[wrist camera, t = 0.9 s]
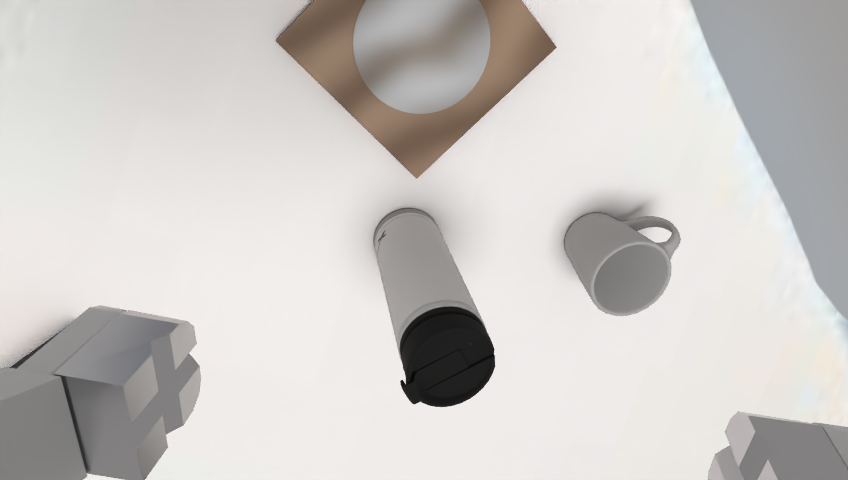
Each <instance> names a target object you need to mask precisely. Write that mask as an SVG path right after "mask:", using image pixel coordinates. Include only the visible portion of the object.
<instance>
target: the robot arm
mask: <svg viewBox="0 0 848 480" xmlns="http://www.w3.org/2000/svg"><path fill="white" fill-rule="evenodd" d="M196 344H197V342H196V336H195V331H194V326H193V325H192V324H190V323H189V322H188V321H184V320H178V319H173V318H168V317H162V316H157V315H152V314H146V313H141V312H136V311H130V310H129V311H126V310H122V309H117V308H111V307H106V306H100V305H99V306H95V307H90V308H88V309H87V310H86V311H85V312H84V313H82V314H81V315H80V316H79V317H78V318H77V319H75V320H74V321H73V322H72V323H71V324H69V325H68V326H67V327H66V328H65V329H63V330H62V331H61V332H60V333H59V334H57V335H56V336H55V337H54V338H53V339H51V340H50V341H49V342H48V343H47V344H46V345H44V346H43V347H42V348H41V349H40V350H38V351H37V352H36V353H35V354H34V355H32V356H31V357H30V358H29V359H28V360H26V361H25V362H24V363H23V364H22V365H20V366H19V367H18V368H17V369H15V368H9V367H6V368H3V369H0V480H83V479H84V478H86V477H87V473H88V474H94V475H100V476H107V477H113V478H119V479H125V480H145V479H146V477H147V476H148V474H149V473H150V472H151V470H152V469H153V467H154V466H155V465H156V463H157V462H158V460H159V459H160V458H161V456H162V455H163V453H164V452H165V451H166V449H167V448H168V445H167V438H166V434H168V433H170V432H171V431H173V430H175V429H177V428H179V427H181V426H183V425H184V423H185V422H186V420H187V419H188V417H189V416H190V414H191V413H192V411H193V409H194V406H195V404H196V401H197V398H198V395H199V392H200V382H201V375H200V366H199V365H198V364H197V362H196V361H195V360H194V359H193V358H192V356H191V355H190V354H189V352H190V351H191V350H192V349H193V347H194V346H195V345H196ZM725 433H726V436H727V439H728V441H729V444H730V446H728V447H726V448H725V449H723V450H721V451H720V452H718V453H716V454H715V456H714V458H713V461H712V464H711V466H710V469H709V473H708V480H848V427H842V426H835V425H828V424H821V423H808V422H802V421H795V420H789V419H783V418H776V417H770V416H764V415H757V414H751V413H745V412H737V413H736V414H735V415H734V416H733V417H732V418H731V419H730V421H729V423H728V426H727V428H726V430H725Z"/></svg>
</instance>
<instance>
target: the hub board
mask: <svg viewBox="0 0 848 480" xmlns="http://www.w3.org/2000/svg"><path fill="white" fill-rule="evenodd" d="M276 42H277V43H278V44H279V45H280V46H281V47H282V48H283V49H284V50H285V51H287V52H288V53H289V54H290V55H291V56H292V57H293V58H294V59H295V60H296V61H297V62H298V63H299V64H300V65H301V66H302V67H303V68H304V69H305V70H306V71H307V72H308V73H309V74H310V75H311V76H312V77H313V78H314V79H315V80H316V81H317V82H318V83H319V84H320V85H321V86H322V87H323V88H324V89H325V90H326V91H327V92H328V93H330V94H331V95H332V96H333V97H334V98H335V99H336V100H337V101H338V102H339V103H340V104H341V105H342V106H343V107H344V108H345V109H346V110H347V111H348V112H349V113H350V114H351V115H352V116H353V117H354V118H355V119H356V120H357V121H358V122H359V123H360V124H361V125H362V126H363V127H364V128H365V129H366V130H367V131H368V132H369V133H370V134H371V135H373V136H374V137H375V138H376V139H377V140H378V141H379V142H380V143H381V144H382V145H383V146H384V147H385V148H386V149H387V150H388V151H389V152H390V153H391V154H392V155H393V156H394V157H395V158H396V159H397V160H398V161H399V162H400V163H401V164H402V165H403V166H404V167H405V168H406V169H407V170H408V171H409V172H410V173H411V174H412V175H413V176H414V177H416V178H418V177H419V176H420V175H421V174H422V173H423V172H424V171H425V170H427V169H428V168H429V167H430V166H431V165H432V164H433V163H434V162H435V161H436V160H437V159H438V158H439V157H440V156H441V155H442V154H444V153H445V152H446V151H447V150H448V149H449V148H450V147H451V146H452V145H453V144H454V143H455V142H456V141H457V140H458V139H460V138H461V137H462V136H463V135H464V134H465V133H466V132H467V131H468V130H469V129H470V128H471V127H472V126H473V125H474V124H476V123H477V122H478V121H479V120H480V119H481V118H482V117H483V116H484V115H485V114H486V113H487V112H488V111H489V110H490V109H491V108H493V107H494V106H495V105H496V104H497V103H498V102H499V101H500V100H501V99H502V98H503V97H504V96H505V95H506V94H507V93H509V92H510V91H511V90H512V89H513V88H514V87H515V86H516V85H517V84H518V83H519V82H520V81H521V80H522V79H523V78H524V77H526V76H527V75H528V74H529V73H530V72H531V71H532V70H533V69H534V68H535V67H536V66H537V65H538V64H539V63H540V62H542V61H543V60H544V59H545V58H546V57H547V56H548V55H549V54H550V53H551V52H552V51H553V50H554V49H555V48H556V46H555V45H554V43H553V42H552V41H551V39H550V38H549V37H548V35H547V34H546V33H545V31H544V30H543V29H542V27H541V26H540V25H539V23H538V22H537V21H536V19H535V18H534V17H533V15H532V14H531V13H530V11H529V10H528V9H527V7H526V6H525V5H524V3H523V2H522V1H521V0H313V1H312V3H311V4H310V5H309V6H308V7H307V8H306V9H305V10H304V11H303V12H302V13H301V14H300V15H299V16H298V17H297V18H296V20H295V21H294V22H293V23H292V24H291V25H290V26H289V27H288V28H287V29H286V30H285V31H284V32H283V33H282V34H281V35H280V36H279V38H278V39H277V40H276Z"/></svg>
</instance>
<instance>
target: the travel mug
mask: <svg viewBox="0 0 848 480" xmlns="http://www.w3.org/2000/svg"><path fill="white" fill-rule="evenodd" d="M374 248H375V253H376V257H377V261H378V265H379V270H380V274H381V278H382V283H383V287H384V291H385V295H386V300H387V304H388V308H389V312H390V317H391V321H392V325H393V330H394V334H395V338H396V342H397V347H398V350H399V355H400V358H401V360H402V364H403V369H404V371H405V375H406V384H405V383H404V381H403V380H401V381H400V382H401V386H402V389H403V391H404V393H405V394H406V396H407V397H408V399H409V400H410V401H411V402H412V403H413V404H416V403H418V402H420V401H421V402H422V403H425V404H427V405H430V406H435V407H447V406H453V405H456V404H460V403H462V402H464V401H466V400H468V399H470V398H471V397H473V396H474V395H476V394H477V393H478V392H479V391H480V390H481V389H482V388H483V387H484V386H485V385H486V383H487V382H488V381H489V379H490V377H491V375H492V373H493V371H494V368H495V356H494V347H493V344H492V342H491V339H490V337H489V335H488V333H487V331H486V328H485V325H484V323H483V321H482V319H481V316H480V314H479V312H478V310H477V308H476V306H475V304H474V302H473V299H472V297H471V295H470V293H469V291H468V289H467V287H466V285H465V283H464V281H463V278H462V276H461V274H460V272H459V270H458V268H457V266H456V264H455V262H454V260H453V257H452V255H451V253H450V251H449V249H448V247H447V245H446V243H445V241H444V239H443V236H442V234H441V232H440V230H439V228H438V226H437V224H436V222H435V221H434V219H433V218H432V217H431V216H430V215H428V214H426V213H425V212H423V211H420V210H417V209H401V210H398V211H395V212H392V213H391V214H389V215H387V216H386V217H385V218H384V219H383V220H382V221H381V222H380V223H379V225H378V226H377V228H376V230H375V234H374Z"/></svg>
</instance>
